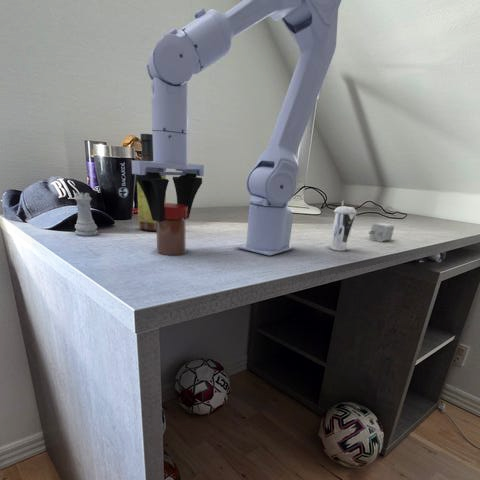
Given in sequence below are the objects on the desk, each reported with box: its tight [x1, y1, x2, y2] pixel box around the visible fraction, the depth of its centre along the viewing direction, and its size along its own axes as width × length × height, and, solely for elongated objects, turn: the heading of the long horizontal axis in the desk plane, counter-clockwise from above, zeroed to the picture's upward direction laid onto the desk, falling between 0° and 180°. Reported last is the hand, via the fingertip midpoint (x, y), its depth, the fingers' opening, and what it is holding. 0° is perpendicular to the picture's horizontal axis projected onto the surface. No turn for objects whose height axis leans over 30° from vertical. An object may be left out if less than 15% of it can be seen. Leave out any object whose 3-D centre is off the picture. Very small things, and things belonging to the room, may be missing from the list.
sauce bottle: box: [136, 133, 167, 232], centre depth 77 cm, size 7×6×20 cm
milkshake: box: [330, 200, 357, 252], centre depth 75 cm, size 5×5×10 cm
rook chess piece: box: [73, 192, 99, 237], centre depth 70 cm, size 4×4×8 cm
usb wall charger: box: [368, 222, 395, 242], centre depth 89 cm, size 4×7×4 cm, turn 132°
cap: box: [164, 202, 188, 219], centre depth 61 cm, size 6×6×2 cm
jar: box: [155, 218, 187, 256], centre depth 62 cm, size 5×5×8 cm
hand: (171, 219), depth 62 cm, fingers closed on cap, 6 cm apart
